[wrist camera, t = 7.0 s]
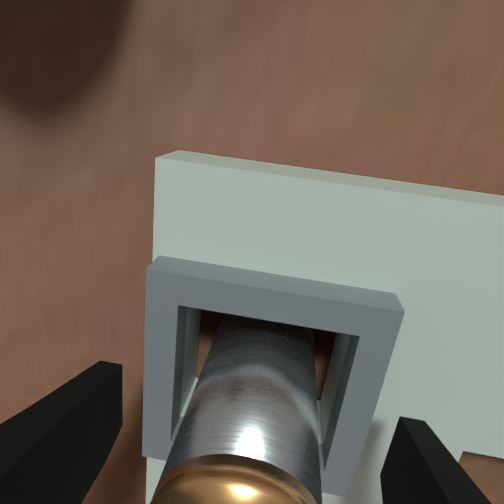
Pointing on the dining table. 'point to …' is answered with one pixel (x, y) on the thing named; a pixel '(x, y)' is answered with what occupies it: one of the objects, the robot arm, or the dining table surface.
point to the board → (332, 302)
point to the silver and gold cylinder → (249, 421)
